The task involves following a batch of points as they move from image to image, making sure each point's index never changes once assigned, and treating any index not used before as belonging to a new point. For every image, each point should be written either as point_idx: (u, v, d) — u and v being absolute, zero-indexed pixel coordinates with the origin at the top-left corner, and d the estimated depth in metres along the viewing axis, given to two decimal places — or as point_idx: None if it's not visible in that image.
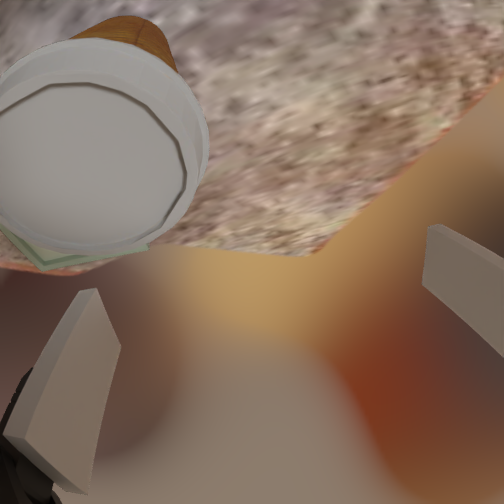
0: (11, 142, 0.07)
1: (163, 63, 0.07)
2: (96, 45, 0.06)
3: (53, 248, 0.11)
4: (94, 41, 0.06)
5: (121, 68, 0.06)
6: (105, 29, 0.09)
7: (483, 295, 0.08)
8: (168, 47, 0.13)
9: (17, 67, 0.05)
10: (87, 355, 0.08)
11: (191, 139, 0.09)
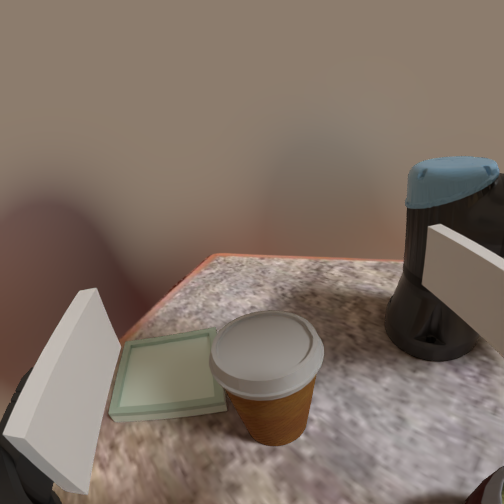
0: (288, 326, 0.25)
1: (313, 375, 0.21)
2: (321, 355, 0.23)
3: (223, 328, 0.26)
4: (323, 354, 0.23)
5: (315, 356, 0.22)
6: None
7: (483, 295, 0.08)
8: (291, 430, 0.24)
9: None
10: (87, 355, 0.08)
11: (285, 376, 0.20)
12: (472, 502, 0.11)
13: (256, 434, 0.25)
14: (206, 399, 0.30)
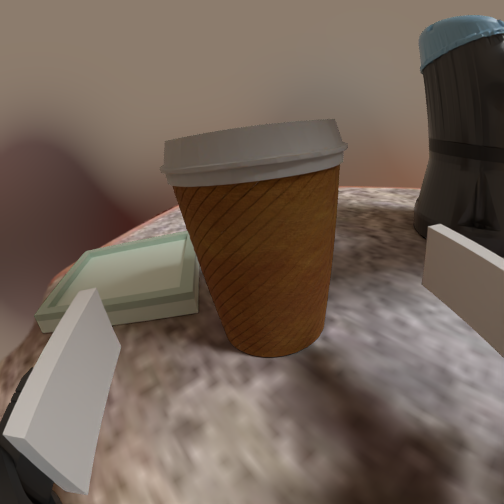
0: None
1: (335, 149, 0.12)
2: (343, 143, 0.13)
3: None
4: (346, 143, 0.13)
5: (334, 128, 0.12)
6: None
7: (483, 295, 0.08)
8: (301, 312, 0.15)
9: None
10: (87, 355, 0.08)
11: (284, 124, 0.11)
12: None
13: (237, 326, 0.16)
14: (166, 290, 0.21)
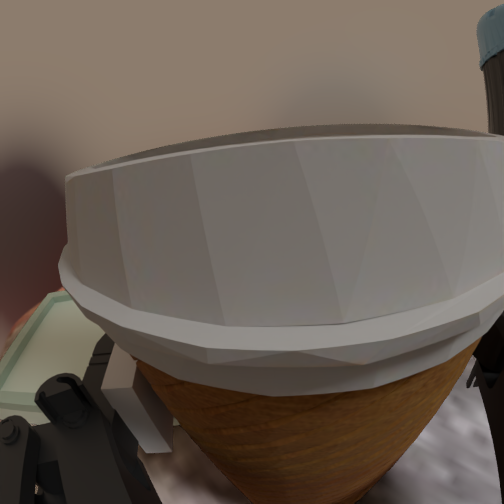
0: None
1: None
2: None
3: None
4: None
5: None
6: None
7: None
8: (367, 488, 0.06)
9: None
10: None
11: (492, 148, 0.02)
12: None
13: (255, 498, 0.07)
14: None
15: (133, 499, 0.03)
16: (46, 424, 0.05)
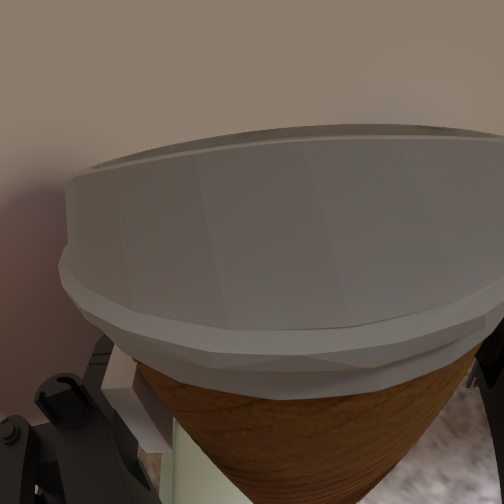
0: None
1: None
2: None
3: None
4: None
5: None
6: None
7: None
8: (369, 489, 0.06)
9: None
10: None
11: (496, 148, 0.02)
12: None
13: (256, 499, 0.07)
14: None
15: (133, 499, 0.03)
16: (46, 424, 0.05)
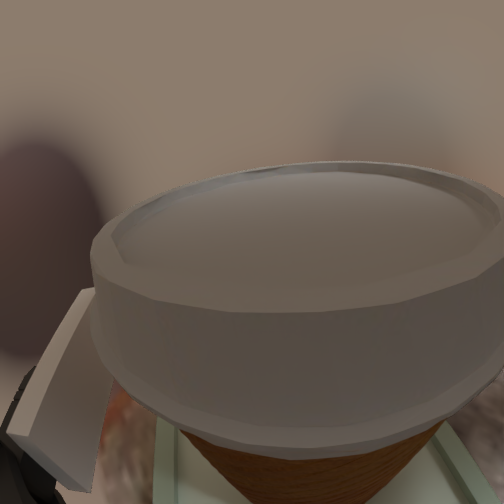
0: (369, 180, 0.08)
1: None
2: None
3: (173, 189, 0.08)
4: None
5: None
6: None
7: None
8: (366, 500, 0.07)
9: None
10: (90, 353, 0.08)
11: (489, 273, 0.02)
12: None
13: None
14: None
15: None
16: None
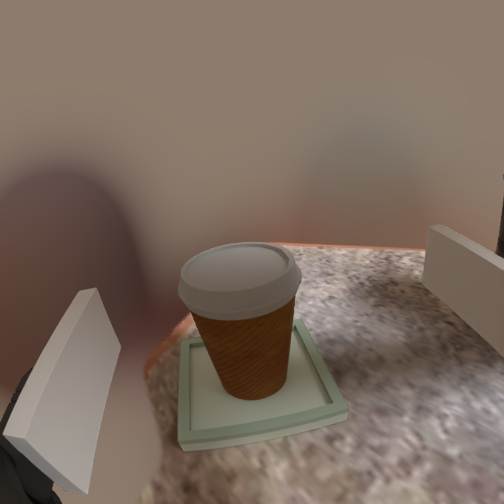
0: (264, 254, 0.25)
1: (288, 295, 0.20)
2: (298, 279, 0.22)
3: (197, 255, 0.25)
4: (300, 279, 0.22)
5: (290, 275, 0.21)
6: (292, 322, 0.24)
7: (483, 295, 0.08)
8: (267, 377, 0.23)
9: None
10: (87, 355, 0.08)
11: (255, 288, 0.19)
12: None
13: (228, 382, 0.24)
14: (323, 408, 0.22)
15: None
16: None
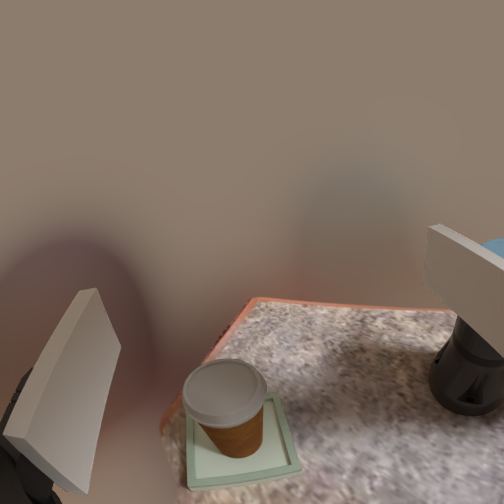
0: (241, 373, 0.32)
1: (254, 413, 0.28)
2: (263, 398, 0.29)
3: (194, 371, 0.33)
4: (264, 398, 0.29)
5: (257, 400, 0.28)
6: (262, 415, 0.32)
7: (483, 295, 0.08)
8: (246, 448, 0.31)
9: (262, 380, 0.32)
10: (87, 355, 0.08)
11: (231, 414, 0.27)
12: None
13: (220, 448, 0.32)
14: (284, 468, 0.30)
15: None
16: None
